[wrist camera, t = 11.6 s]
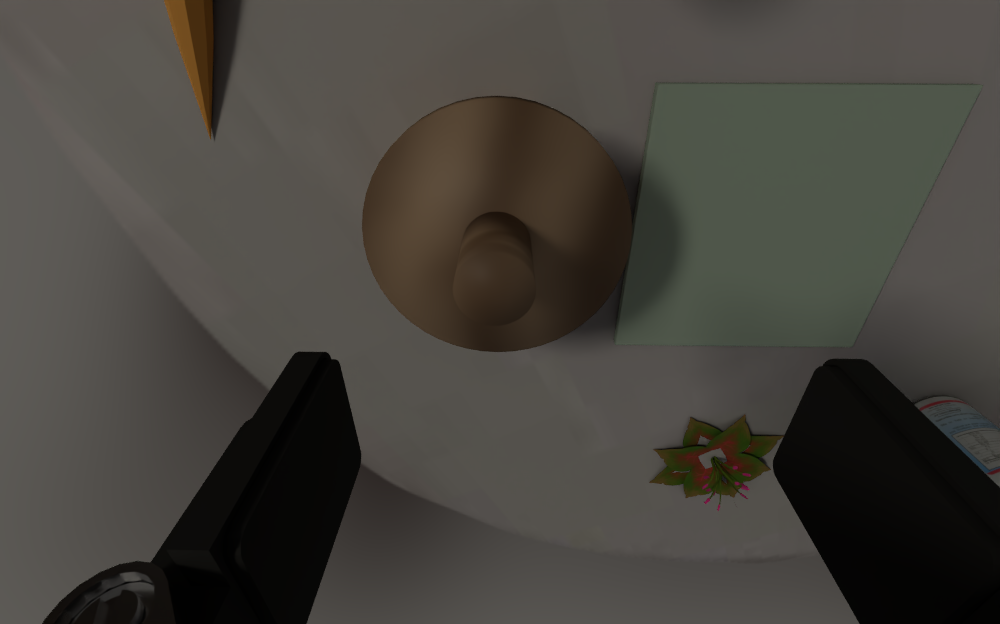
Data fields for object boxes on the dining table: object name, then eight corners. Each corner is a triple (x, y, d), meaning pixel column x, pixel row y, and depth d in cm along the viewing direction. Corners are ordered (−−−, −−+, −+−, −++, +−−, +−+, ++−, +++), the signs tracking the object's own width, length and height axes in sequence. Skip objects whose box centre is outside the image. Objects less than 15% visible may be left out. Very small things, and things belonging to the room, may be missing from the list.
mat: (974, 83, 26) (983, 84, 26) (847, 342, 36) (852, 347, 35) (655, 82, 26) (658, 83, 26) (613, 340, 36) (615, 344, 35)
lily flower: (805, 421, 41) (836, 462, 37) (737, 503, 47) (758, 547, 43) (679, 395, 39) (697, 435, 36) (626, 484, 46) (637, 527, 42)
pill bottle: (914, 453, 42) (1034, 578, 32) (873, 426, 40) (986, 550, 31) (982, 412, 39) (1134, 536, 30) (941, 381, 38) (1088, 502, 28)
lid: (648, 95, 21) (692, 117, 16) (610, 342, 29) (632, 411, 24) (345, 95, 21) (295, 117, 16) (385, 341, 29) (359, 409, 24)
